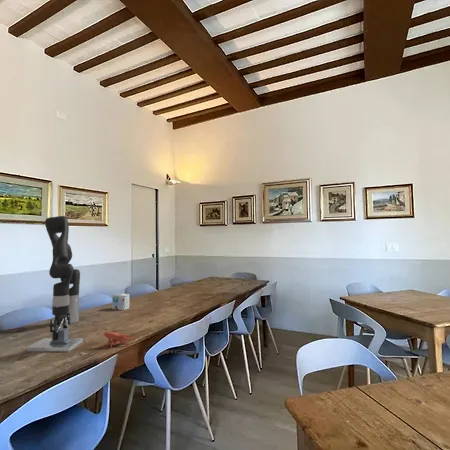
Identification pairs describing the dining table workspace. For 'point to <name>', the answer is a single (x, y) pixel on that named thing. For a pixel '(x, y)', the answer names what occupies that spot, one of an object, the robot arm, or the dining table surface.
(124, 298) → the light bulb box
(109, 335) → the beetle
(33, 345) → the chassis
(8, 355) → the dining table surface
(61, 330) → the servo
